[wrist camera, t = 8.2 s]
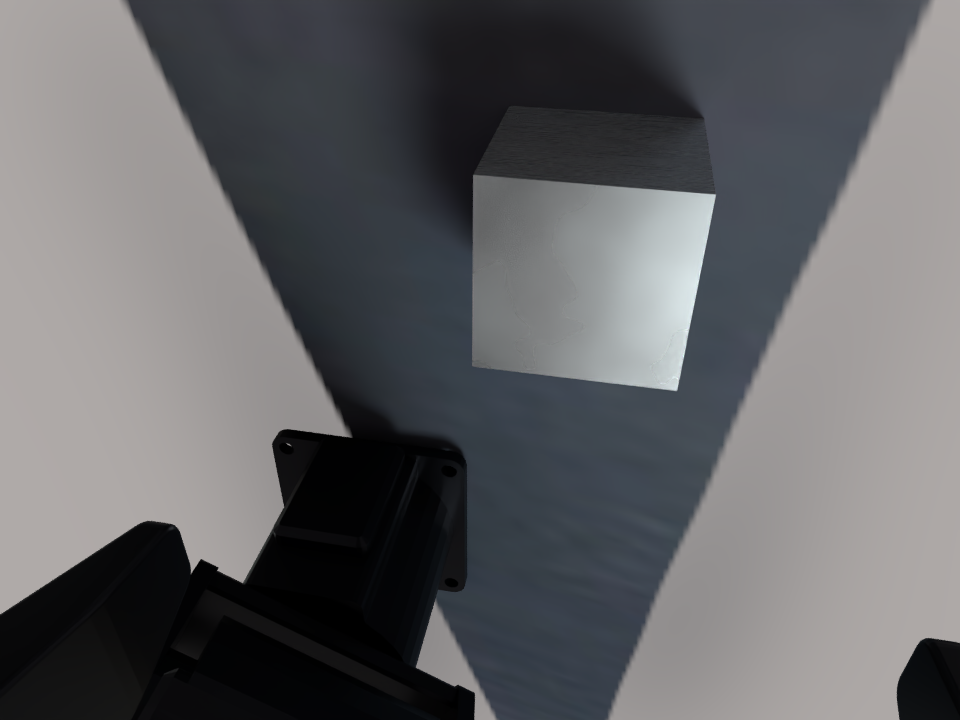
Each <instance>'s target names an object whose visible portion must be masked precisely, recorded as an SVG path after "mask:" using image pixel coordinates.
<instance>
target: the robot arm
mask: <svg viewBox="0 0 960 720" xmlns="http://www.w3.org/2000/svg"><path fill="white" fill-rule="evenodd" d="M286 443H288V444H290V445H291V446H289V445H287V444H286ZM272 445H273V446H272V447H273V453H274V458H275V462H276V468H277V473H278V478H279V483H280V488H281V493H282V497H283V503H284V509H283V510H282V512H281V514H280V516H279V518H278V519H277V521H276V523H275V525H274V527H273V529H272V531H271V533H270V535H269V537H268V538H267V540H266V542H265V544H264V546H263V547H262V549H261V551H260V553H259V555H258V557H257V558H256V560H255V562H254V564H253V566H252V568H251V570H250V571H249V573H248V575H247V577H246V579H245V580H244V582H243V583H241V582H239V581H237V580H235V579H233V578H231V577H229V576H227V575H225V574H223V573H221V572H219V571H217V570H218V567H216V566H214V565H212V564H210V563H208V562H206V561H204V560H202V559H201V560H200V561H199V563H198V564H197V566H196V567H195V569H194V570H193V572H192V573H191V567H190V562H189V559H188V556H187V553H186V550H185V547H184V543H183V540H182V537H181V534H180V531H179V530H178V528H177V527H176V526H175V525H173V524H168V523H161V522H154V521H146V522H143V523H140V524H138V525H137V526H135V527H134V528H132V529H130V530H129V531H127V532H126V533H124V534H123V535H121V536H120V537H118V538H117V539H115V540H114V541H112V542H111V543H109V544H107V545H106V546H104V547H103V548H101V549H100V550H98V551H97V552H95V553H94V554H92V555H91V556H89V557H88V558H86V559H85V560H83V561H81V562H80V563H79V564H77V565H75V566H74V567H72V568H71V569H69V570H68V571H66V572H65V573H63V574H62V575H60V576H58V577H57V578H55V579H54V580H52V581H51V582H49V583H48V584H46V585H45V586H43V587H42V588H40V589H39V590H37V591H36V592H34V593H32V594H31V595H29V596H28V597H26V598H25V599H23V600H22V601H20V602H19V603H17V604H16V605H14V606H13V607H11V608H9V609H8V610H6V611H5V612H3V613H2V614H0V720H474V710H475V693H474V692H472V691H470V690H467V689H466V688H464V687H462V686H459V685H457V686H455V687H454V686H452V685H450V684H448V683H446V682H444V681H441V680H440V679H438V678H436V677H434V676H431V675H430V674H427V673H425V672H423V671H421V670H419V669H417V668H416V665H417V661H418V658H419V654H420V651H421V647H422V644H423V640H424V637H425V633H426V630H427V626H428V623H429V619H430V616H431V612H432V609H433V605H434V602H435V598H436V595H437V591H438V590H444V591H451V592H458V591H461V590H462V589H464V586H465V583H466V579H467V464H466V460H465V459H464V458H463V456H461V455H460V454H458V453H456V452H452V451H445V450H438V449H431V448H423V447H416V446H408V445H401V444H394V443H386V442H379V441H371V440H364V439H357V438H349V437H342V436H334V435H326V434H320V433H312V432H305V431H297V430H290V429H286V430H282V431H280V432H279V433H278V435H277V436H276V438H275V439H274V441H273V443H272ZM446 465H449V466H452V467H454V468H455V469H451V468H448V467H447V466H446ZM897 703H898V712H899V719H900V720H960V643H957V642H952V641H945V640H939V639H932V638H925V639H923V640H922V641H920V642H919V644H918V645H917V647H916V648H915V650H914V652H913V654H912V656H911V658H910V660H909V662H908V663H907V665H906V667H905V669H904V671H903V672H902V674H901V676H900V679H899V681H898V686H897Z"/></svg>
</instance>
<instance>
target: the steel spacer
mask: <svg viewBox="0 0 960 720" xmlns="http://www.w3.org/2000/svg"><path fill="white" fill-rule="evenodd" d="M715 197H716V192H715V186H714V179H713V173H712V166H711V160H710V153H709V146H708V140H707V133H706V127H705V120H704V119H702V118H687V117H672V116H657V115H642V114H627V113H613V112H598V111H583V110H568V109H553V108H538V107H523V106H509V107H508V109H507V111H506V113H505V115H504V117H503V119H502V121H501V123H500V125H499V127H498V128H497V130H496V132H495V134H494V136H493V138H492V140H491V142H490V144H489V146H488V148H487V149H486V151H485V153H484V155H483V157H482V159H481V161H480V163H479V165H478V167H477V169H476V170H475V172H474V174H473V333H472V367H481V368H489V369H498V370H506V371H514V372H523V373H531V374H540V375H548V376H556V377H565V378H573V379H581V380H590V381H598V382H607V383H615V384H623V385H632V386H640V387H649V388H657V389H665V390H674V391H677V387H678V382H679V377H680V372H681V367H682V362H683V357H684V352H685V347H686V342H687V337H688V332H689V327H690V322H691V317H692V312H693V307H694V302H695V297H696V292H697V287H698V282H699V277H700V272H701V267H702V262H703V257H704V252H705V247H706V242H707V237H708V232H709V227H710V222H711V217H712V212H713V207H714V202H715Z"/></svg>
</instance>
